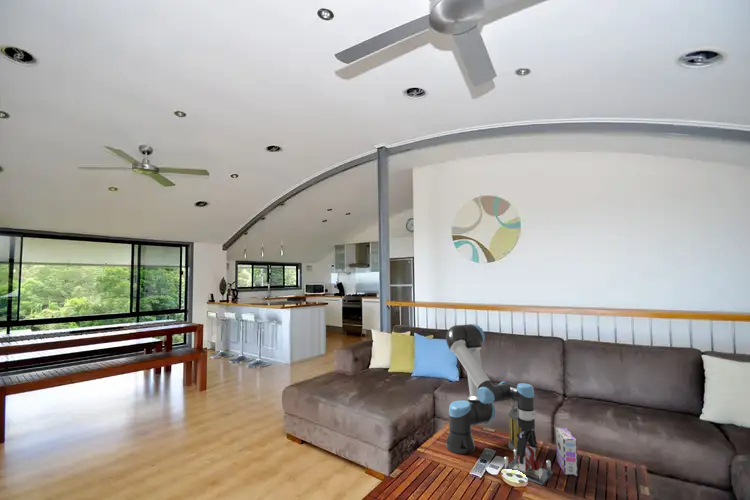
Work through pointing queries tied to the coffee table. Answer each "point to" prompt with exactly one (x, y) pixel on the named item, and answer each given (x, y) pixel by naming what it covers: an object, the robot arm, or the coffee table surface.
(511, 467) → the chassis
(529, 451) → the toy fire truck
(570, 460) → the candy box
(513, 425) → the lantern
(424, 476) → the coffee table surface
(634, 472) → the coffee table surface
